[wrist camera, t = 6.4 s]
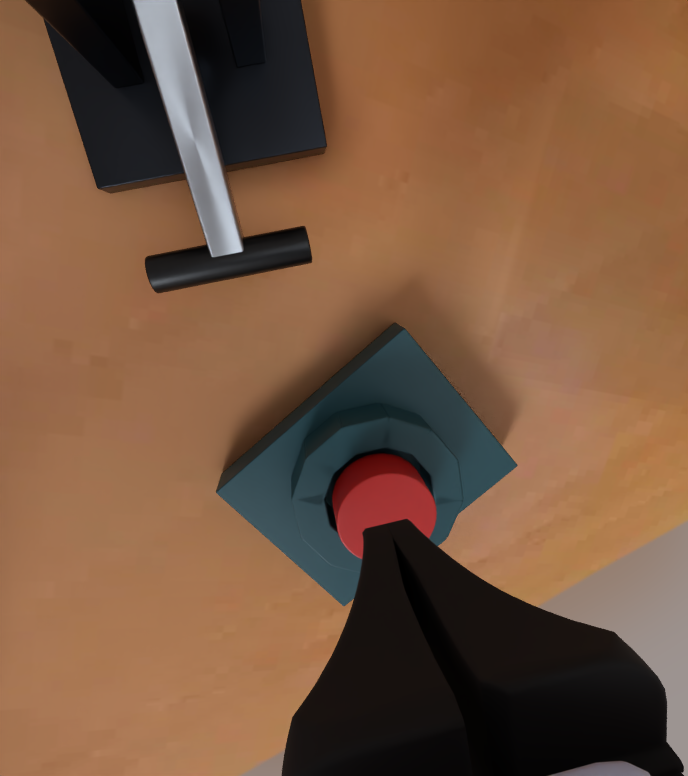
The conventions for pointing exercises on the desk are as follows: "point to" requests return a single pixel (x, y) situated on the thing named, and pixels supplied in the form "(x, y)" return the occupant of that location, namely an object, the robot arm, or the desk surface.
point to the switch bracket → (219, 75)
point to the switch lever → (203, 168)
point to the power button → (380, 498)
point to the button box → (358, 439)
